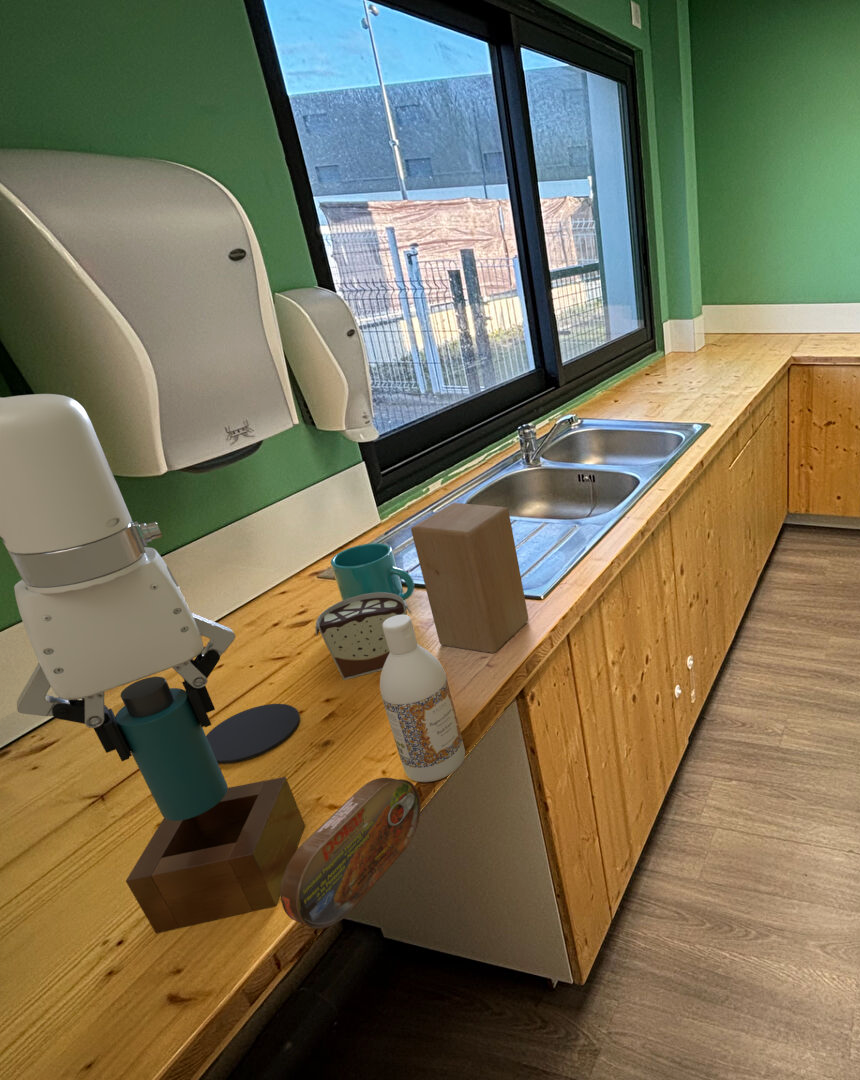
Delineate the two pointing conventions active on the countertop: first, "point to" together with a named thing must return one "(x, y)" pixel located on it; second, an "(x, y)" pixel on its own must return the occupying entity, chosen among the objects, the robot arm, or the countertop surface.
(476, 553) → the wooden block
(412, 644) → the bath foam
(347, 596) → the cup
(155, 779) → the bottle
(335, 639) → the food container
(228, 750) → the coaster
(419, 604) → the countertop surface
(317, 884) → the tin
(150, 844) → the holder
